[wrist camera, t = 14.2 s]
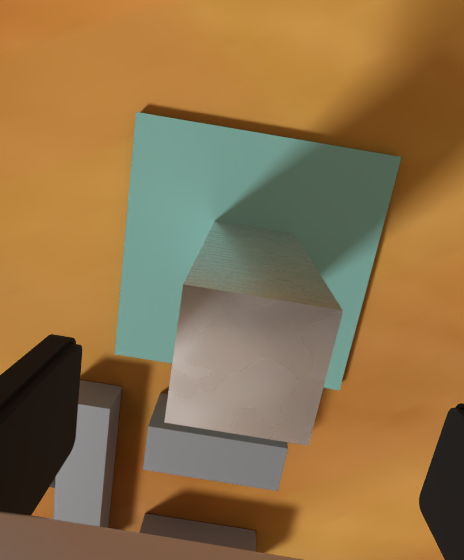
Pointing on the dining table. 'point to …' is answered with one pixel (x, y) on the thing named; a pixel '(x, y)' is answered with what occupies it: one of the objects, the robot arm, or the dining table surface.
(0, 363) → the dining table surface
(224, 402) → the steel bar
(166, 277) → the mat
